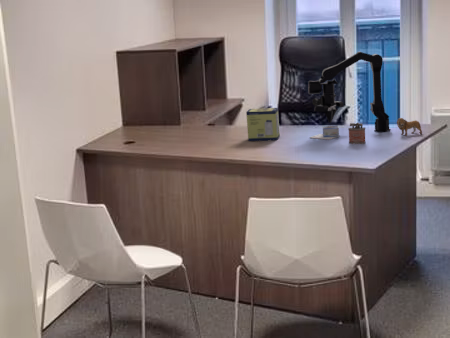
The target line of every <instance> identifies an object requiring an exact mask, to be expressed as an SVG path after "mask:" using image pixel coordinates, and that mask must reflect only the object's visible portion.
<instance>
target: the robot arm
mask: <svg viewBox="0 0 450 338" xmlns="http://www.w3.org/2000/svg"><path fill="white" fill-rule="evenodd" d="M360 61H365V62H366V63H367V62H368V63H369V65H370V68H371V71H372V91H373V99H372V102H370V103H369V104H370V110H369V111H371V113H372V115H374V116H375V118H376V119H375V120H374V130H373V131H374V132H378V133H380V132H381V133H382V132H383V133H386V132H388V131H389V132H390V131H391V130H392V129H391V128H390V116H389V114H387V113H386V112H385V111H386V110H385V106H384V103H383V100H382V77H381V75H382V74H381V71H382V67H383V61H384V59H383V57H382V56H381V55H380V54H377V53H373V54H369V53H366V52H362V51H357V52H355V53H354V54H352V55H351V56H349V57H348V58H346V59H344V60H343V61H340V62H339V63H337V64H334V65H332V66H329V67H325V68H324V69H323V70H322V73H321V76H320V78H319V79H318V80H309V81H308V87H307V88H308V89H307V90H308V95H316V94H317V95H318V94H319V95H320V94H321V92H322V95H320V98H317V97H315V98H313V99H312V105H313V106H314V112H319V113H322V112H323V113H324V115H325V116H326V117H325V118H326V119H327V122H328V123H329V124H331V123H332V122H333V119H334V117H335V115H336V113H337V111H338V108H336V107H339V108H343V107H345V105H344V104H345V103H344V102H343V101H340V100H339V101H338V100H335V98H336V97H337V94H335V85H338V84H339V82H337V80H336V79H335V78H336V76H337V75H338V74H339V73H341V72H342V71H344V70H346V69H347V68H349V67H350V66H353V65H354V64H355V63H357V62H360Z"/></svg>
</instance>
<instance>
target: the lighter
mask: <svg viewBox="0 0 450 338" xmlns="http://www.w3.org/2000/svg"><path fill="white" fill-rule="evenodd" d="M363 125H364V124H363V123H359V122H356V123H354V122H351V123H349V127H348V129H347V130H348V144H350V145H365V144H366V143H367V142H366V127H363Z"/></svg>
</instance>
